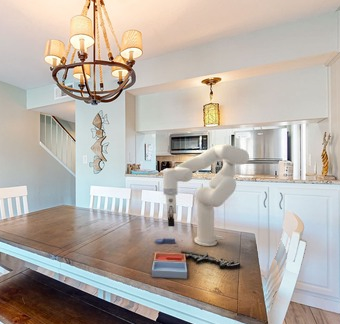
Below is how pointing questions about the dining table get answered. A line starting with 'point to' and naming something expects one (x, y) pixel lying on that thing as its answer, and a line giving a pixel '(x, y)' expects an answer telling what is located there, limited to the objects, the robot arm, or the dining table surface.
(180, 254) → the red bin
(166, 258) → the red spoon
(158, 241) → the blue spoon
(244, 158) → the robot arm
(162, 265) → the blue bin
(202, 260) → the nameplate
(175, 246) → the dining table surface
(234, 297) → the dining table surface
